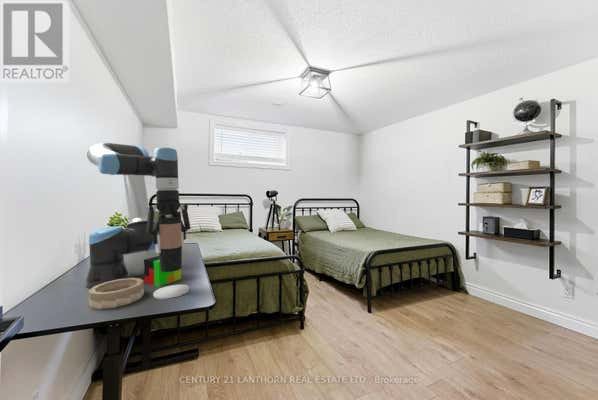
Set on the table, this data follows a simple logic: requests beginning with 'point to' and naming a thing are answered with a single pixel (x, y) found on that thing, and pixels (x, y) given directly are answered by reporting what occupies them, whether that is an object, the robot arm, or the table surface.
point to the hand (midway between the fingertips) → (170, 250)
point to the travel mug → (170, 243)
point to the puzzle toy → (158, 273)
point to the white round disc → (171, 291)
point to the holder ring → (116, 293)
